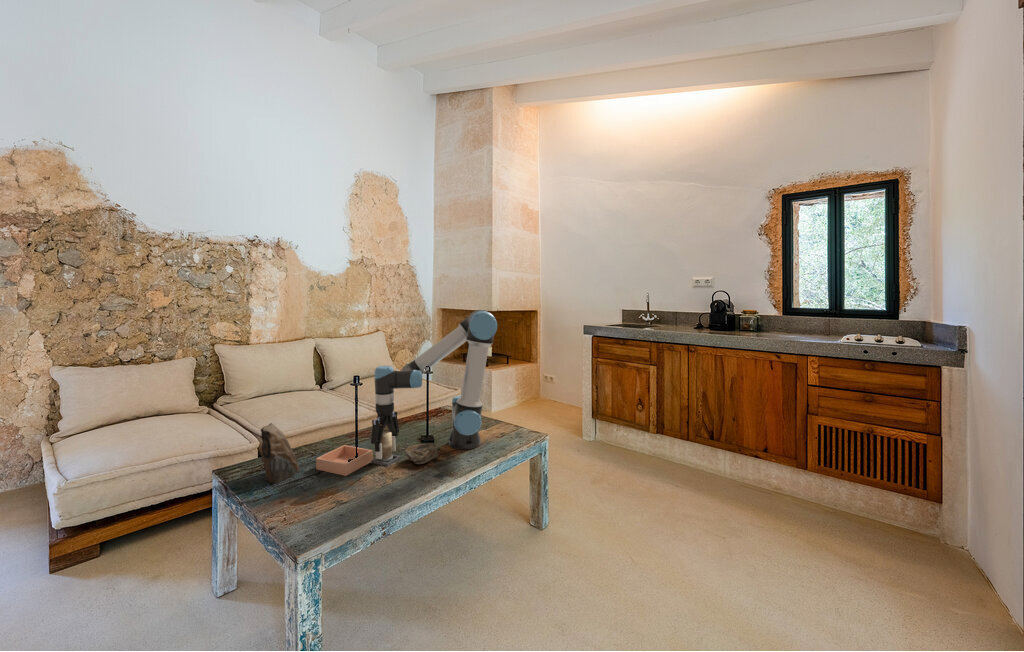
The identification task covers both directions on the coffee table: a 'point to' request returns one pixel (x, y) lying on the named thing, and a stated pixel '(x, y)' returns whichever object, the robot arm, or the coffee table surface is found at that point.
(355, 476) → the coffee table surface
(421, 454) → the stone
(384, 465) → the gray square frame
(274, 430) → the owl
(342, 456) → the tray
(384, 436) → the beige rounded cylinder
